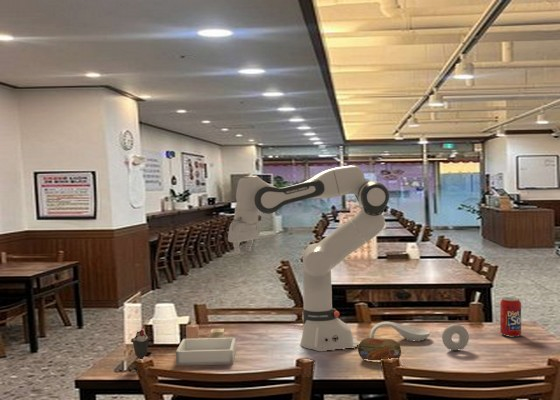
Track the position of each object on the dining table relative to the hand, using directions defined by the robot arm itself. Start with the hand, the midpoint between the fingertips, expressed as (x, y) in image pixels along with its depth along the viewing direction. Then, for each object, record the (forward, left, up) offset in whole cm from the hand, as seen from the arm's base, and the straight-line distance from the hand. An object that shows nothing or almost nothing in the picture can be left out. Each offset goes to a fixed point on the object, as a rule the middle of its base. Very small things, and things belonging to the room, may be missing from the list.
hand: (242, 252), depth 224 cm
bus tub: (+13, +14, -37) cm, 42 cm away
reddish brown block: (+21, -5, -37) cm, 43 cm away
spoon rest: (-62, -3, -37) cm, 72 cm away
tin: (-49, +23, -37) cm, 66 cm away
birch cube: (+11, -5, -37) cm, 39 cm away
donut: (-79, +13, -37) cm, 88 cm away
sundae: (+35, +23, -37) cm, 56 cm away
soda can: (-107, -5, -37) cm, 113 cm away
